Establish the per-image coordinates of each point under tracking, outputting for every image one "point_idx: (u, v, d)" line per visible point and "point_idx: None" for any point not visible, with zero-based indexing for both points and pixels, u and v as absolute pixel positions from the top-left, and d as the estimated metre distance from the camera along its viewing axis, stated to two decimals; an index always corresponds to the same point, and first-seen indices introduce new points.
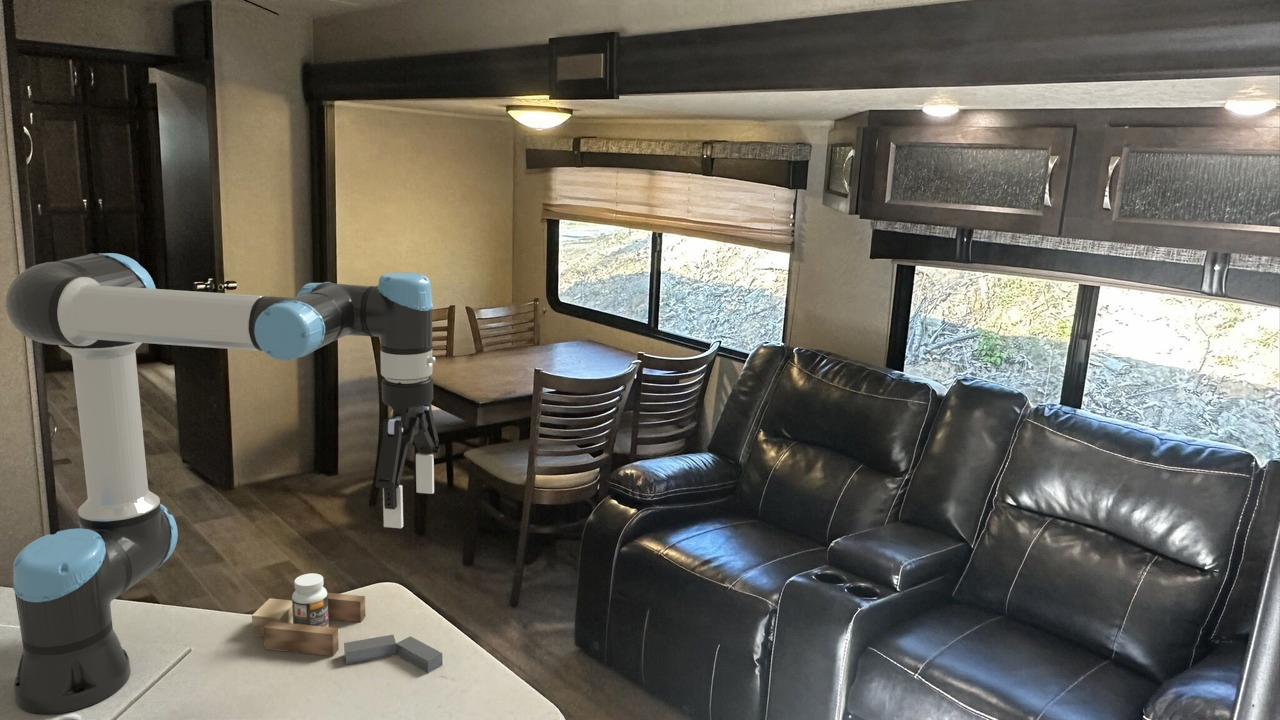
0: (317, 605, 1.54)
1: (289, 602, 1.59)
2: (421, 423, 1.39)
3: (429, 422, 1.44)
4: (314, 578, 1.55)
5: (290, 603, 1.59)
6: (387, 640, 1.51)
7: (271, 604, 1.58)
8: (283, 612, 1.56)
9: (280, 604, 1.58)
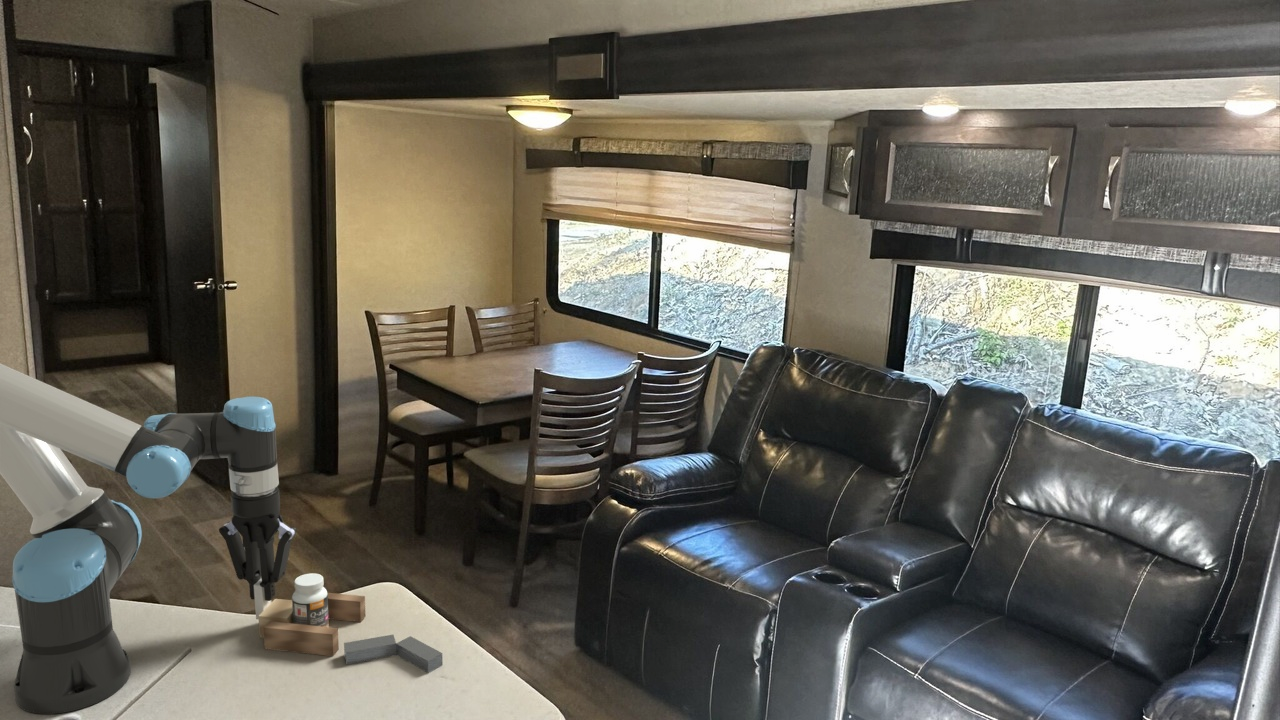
0: (317, 605, 1.54)
1: None
2: (257, 534, 1.52)
3: (277, 551, 1.53)
4: (315, 578, 1.55)
5: None
6: (387, 640, 1.51)
7: (277, 604, 1.58)
8: (289, 612, 1.55)
9: (286, 604, 1.58)
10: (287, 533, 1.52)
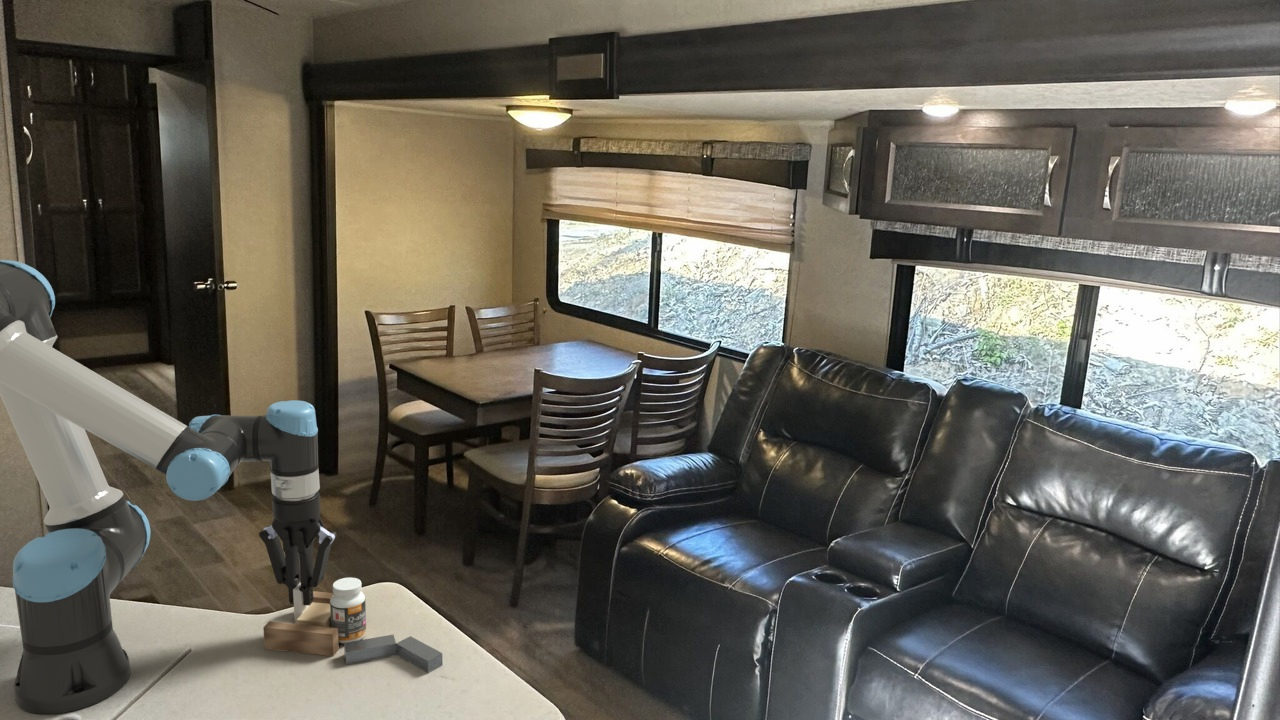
0: (355, 610, 1.53)
1: None
2: None
3: (317, 556, 1.53)
4: (353, 582, 1.54)
5: None
6: (387, 640, 1.51)
7: (315, 608, 1.57)
8: (327, 616, 1.55)
9: (323, 608, 1.57)
10: (328, 538, 1.51)
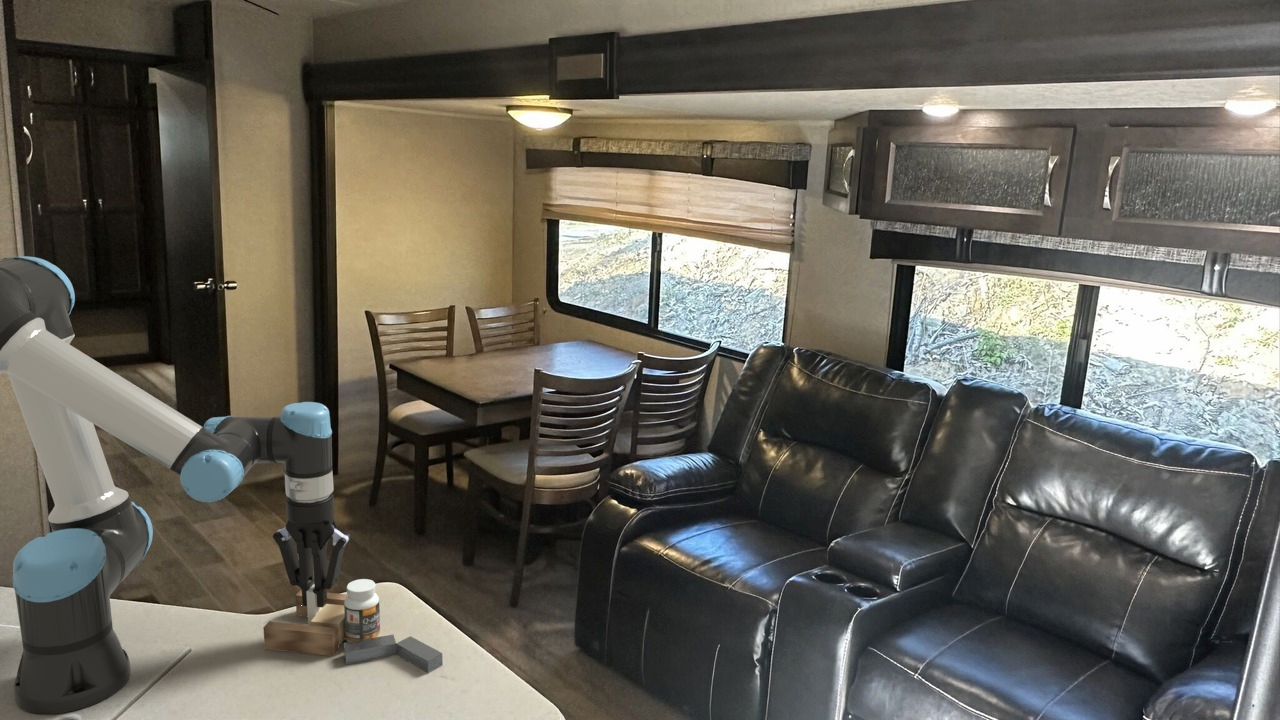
0: (369, 611, 1.52)
1: None
2: None
3: (331, 558, 1.52)
4: (367, 584, 1.54)
5: None
6: (387, 640, 1.51)
7: (328, 610, 1.57)
8: (341, 618, 1.54)
9: (337, 609, 1.57)
10: (342, 540, 1.51)
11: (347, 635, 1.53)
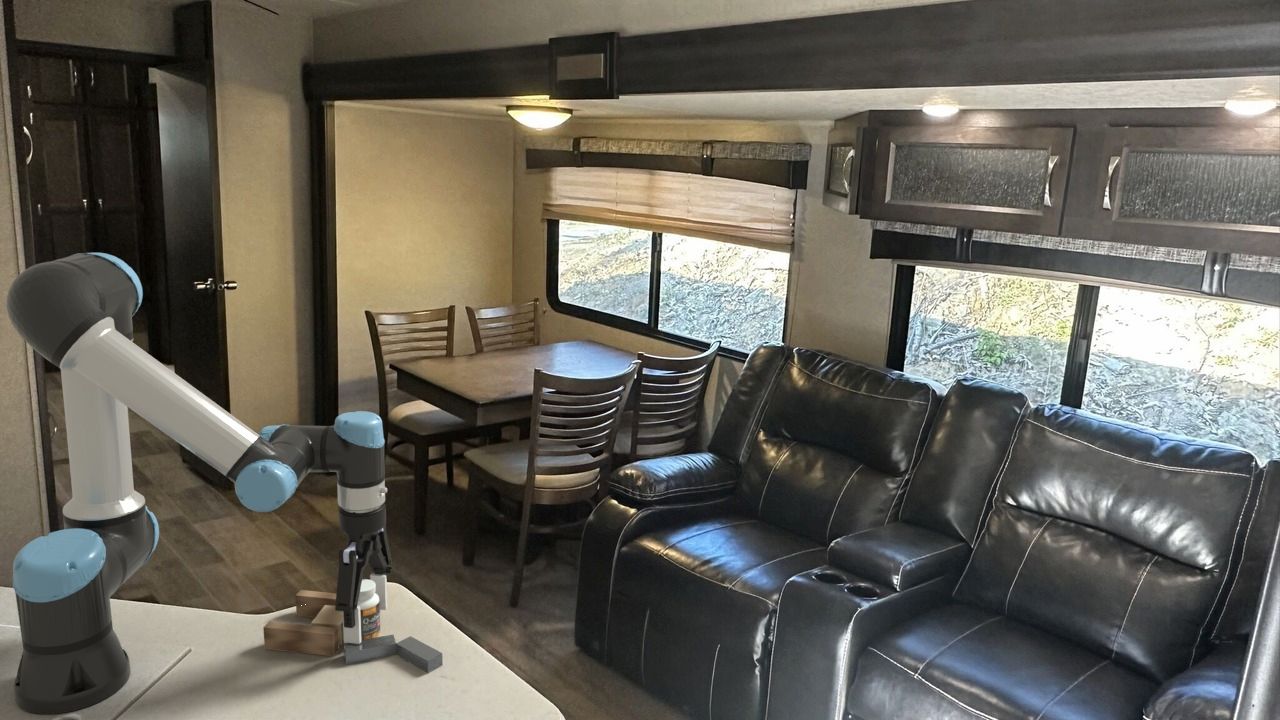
0: (369, 611, 1.52)
1: None
2: (375, 544, 1.53)
3: (383, 542, 1.58)
4: (367, 584, 1.54)
5: None
6: (387, 640, 1.51)
7: (328, 611, 1.57)
8: (342, 618, 1.54)
9: None
10: None
11: None
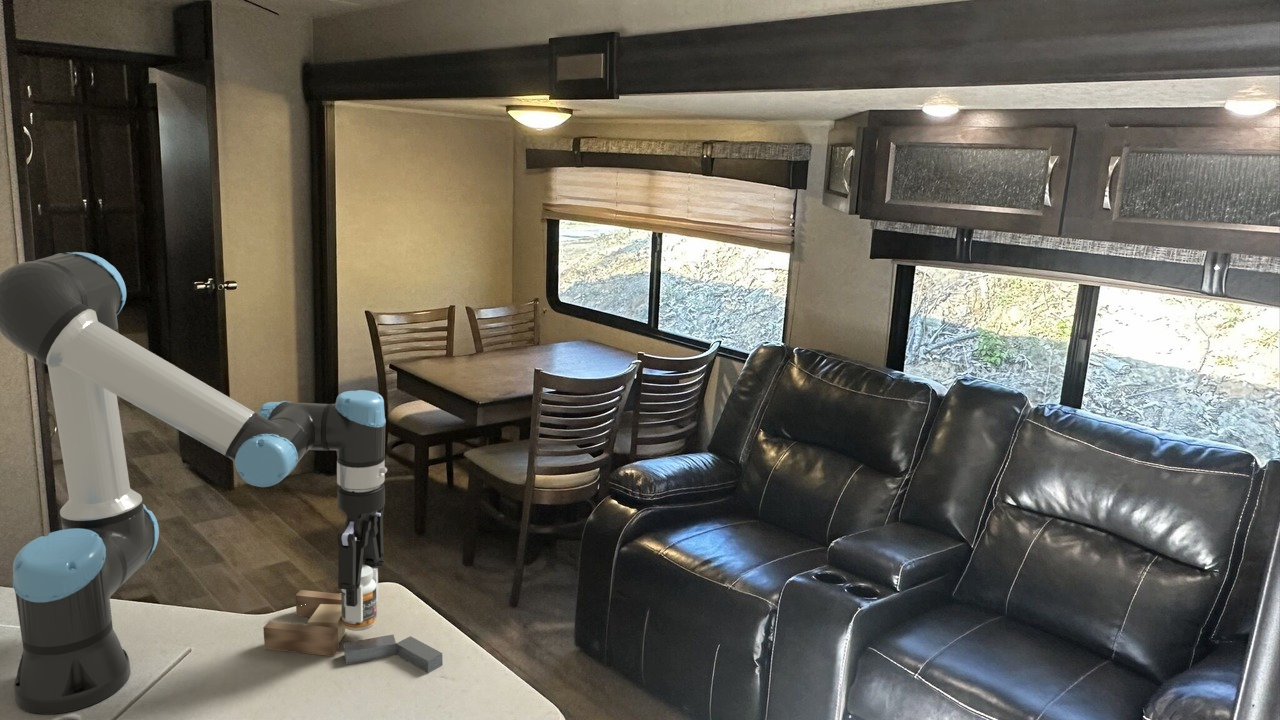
0: (366, 597, 1.52)
1: None
2: (372, 526, 1.52)
3: (378, 530, 1.57)
4: (364, 569, 1.54)
5: None
6: (387, 640, 1.51)
7: (324, 609, 1.57)
8: (338, 616, 1.54)
9: (333, 609, 1.57)
10: (382, 505, 1.57)
11: (343, 620, 1.53)
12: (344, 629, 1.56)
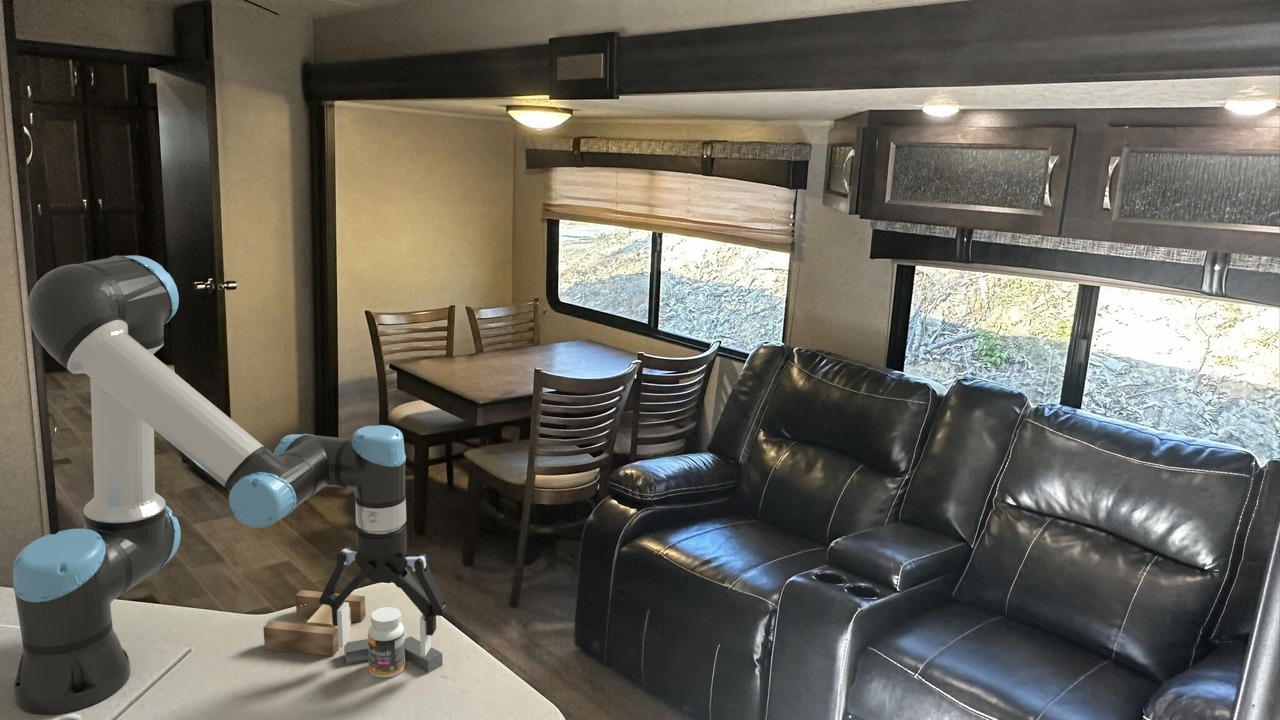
0: (370, 641, 1.44)
1: None
2: None
3: (422, 585, 1.41)
4: (387, 617, 1.44)
5: None
6: None
7: (325, 610, 1.57)
8: None
9: None
10: (416, 561, 1.40)
11: None
12: None
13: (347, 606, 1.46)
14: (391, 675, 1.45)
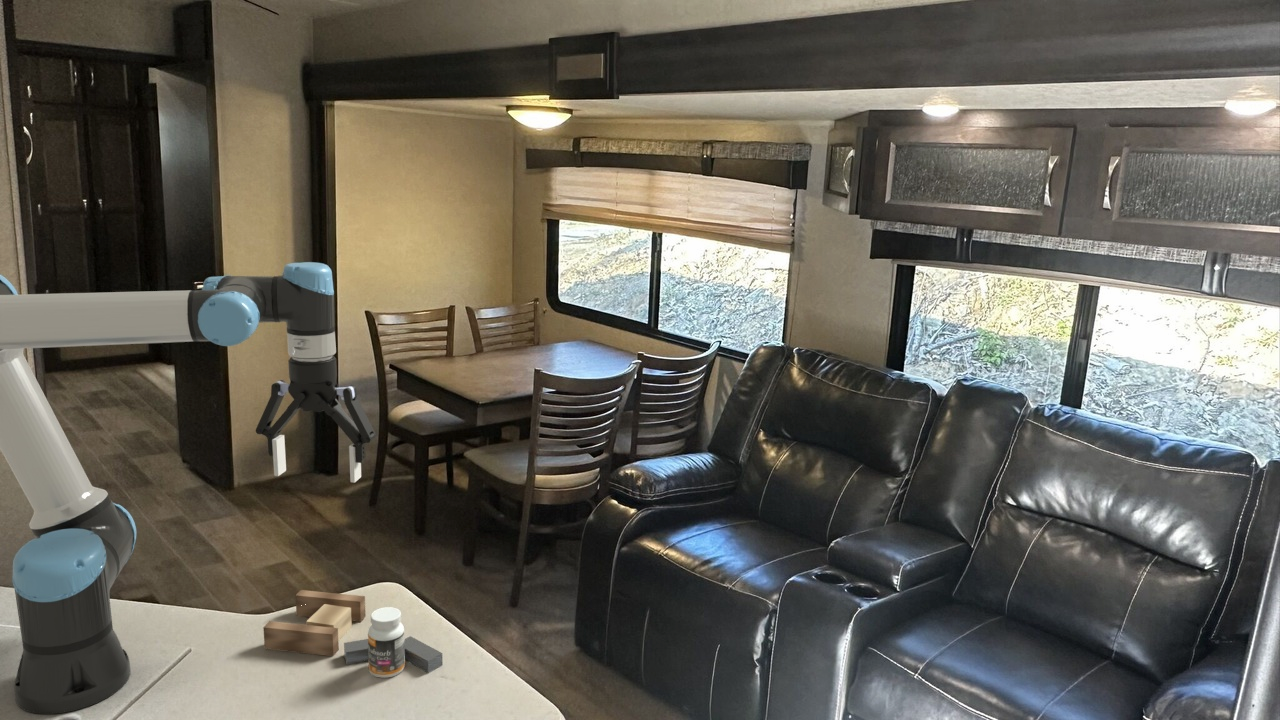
0: (370, 640, 1.44)
1: (343, 609, 1.57)
2: (319, 404, 1.51)
3: (350, 413, 1.51)
4: (387, 617, 1.44)
5: (344, 610, 1.57)
6: None
7: (326, 610, 1.57)
8: (337, 619, 1.54)
9: (334, 610, 1.57)
10: (345, 389, 1.50)
11: None
12: (343, 632, 1.56)
13: (282, 438, 1.55)
14: (391, 675, 1.45)
